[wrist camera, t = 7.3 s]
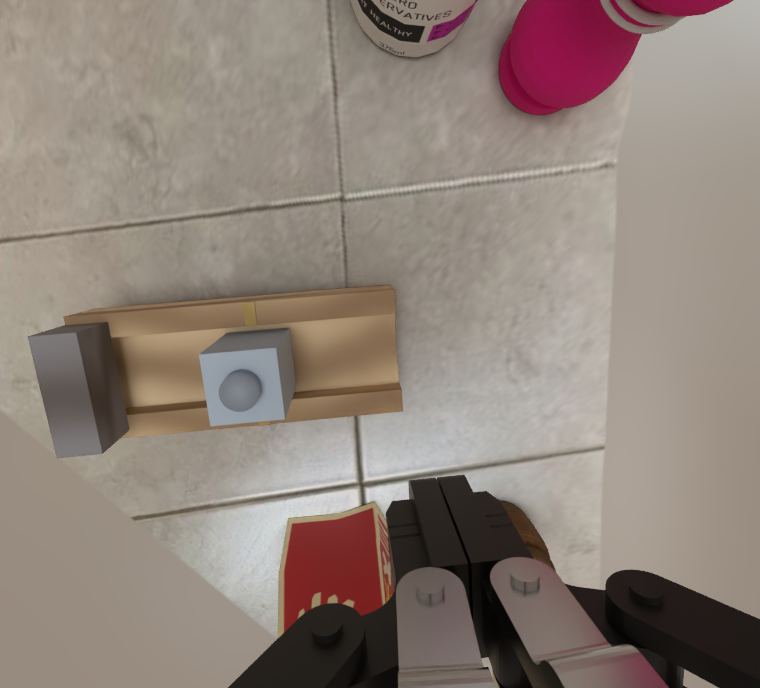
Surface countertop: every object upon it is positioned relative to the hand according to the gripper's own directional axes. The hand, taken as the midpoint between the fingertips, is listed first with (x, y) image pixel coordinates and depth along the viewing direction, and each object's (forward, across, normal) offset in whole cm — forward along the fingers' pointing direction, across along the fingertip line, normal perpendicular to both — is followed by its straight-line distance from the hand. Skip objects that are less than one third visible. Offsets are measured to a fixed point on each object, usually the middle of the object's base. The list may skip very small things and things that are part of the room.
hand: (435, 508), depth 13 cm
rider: (+19, +8, 0) cm, 21 cm away
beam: (+25, +9, 0) cm, 26 cm away
